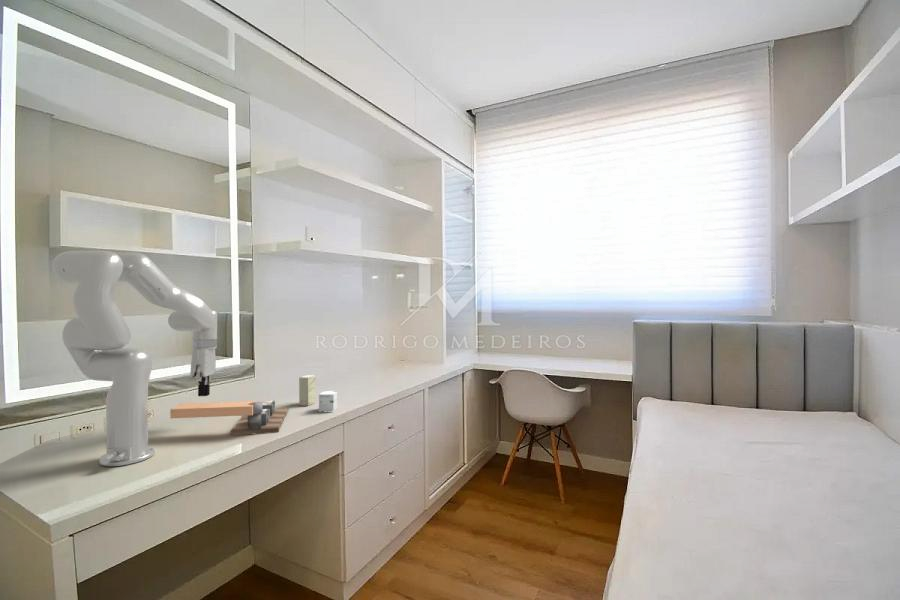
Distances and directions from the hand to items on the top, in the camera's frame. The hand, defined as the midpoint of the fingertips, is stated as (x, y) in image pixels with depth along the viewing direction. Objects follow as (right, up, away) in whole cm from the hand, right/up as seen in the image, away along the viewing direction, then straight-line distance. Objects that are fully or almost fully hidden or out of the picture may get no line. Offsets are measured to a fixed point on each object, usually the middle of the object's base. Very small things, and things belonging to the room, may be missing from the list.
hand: (203, 395), depth 148 cm
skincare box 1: (+27, -11, +31) cm, 42 cm away
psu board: (+19, -11, +5) cm, 22 cm away
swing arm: (+10, -4, -8) cm, 14 cm away
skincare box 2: (+38, -11, +21) cm, 45 cm away
